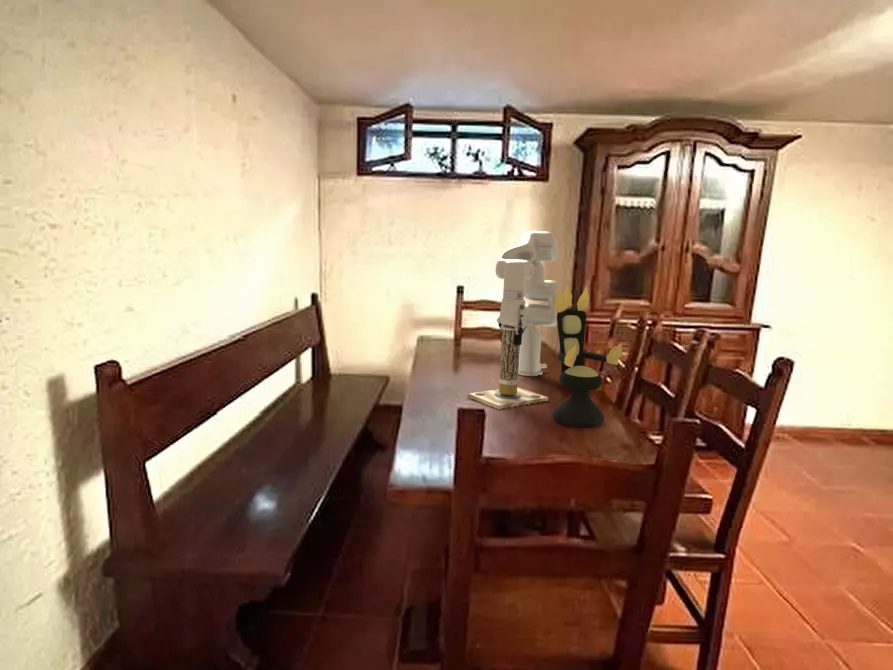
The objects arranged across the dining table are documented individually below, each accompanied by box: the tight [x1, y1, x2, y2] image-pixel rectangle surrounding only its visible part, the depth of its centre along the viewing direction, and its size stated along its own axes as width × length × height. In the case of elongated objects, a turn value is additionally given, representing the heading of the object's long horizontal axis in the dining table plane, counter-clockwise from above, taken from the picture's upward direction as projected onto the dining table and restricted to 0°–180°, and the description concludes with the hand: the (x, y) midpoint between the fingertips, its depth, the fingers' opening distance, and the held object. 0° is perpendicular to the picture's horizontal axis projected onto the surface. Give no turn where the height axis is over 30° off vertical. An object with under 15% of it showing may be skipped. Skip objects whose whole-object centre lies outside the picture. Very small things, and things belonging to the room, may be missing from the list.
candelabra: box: [552, 283, 623, 428], centre depth 194 cm, size 19×22×45 cm
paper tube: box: [498, 326, 520, 395], centre depth 218 cm, size 7×7×25 cm
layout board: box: [467, 386, 549, 410], centre depth 220 cm, size 24×18×2 cm
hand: (510, 342), depth 217 cm, fingers closed on paper tube, 6 cm apart
